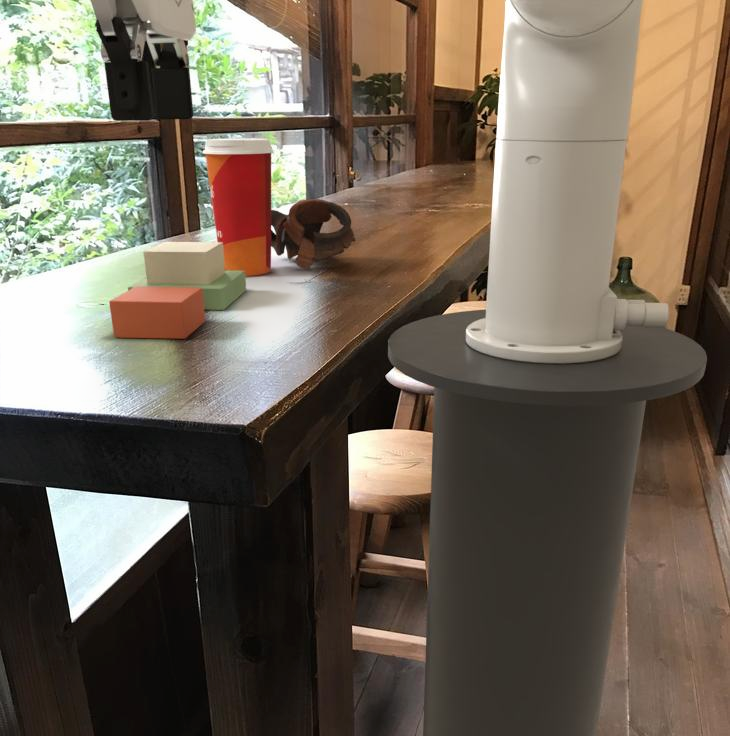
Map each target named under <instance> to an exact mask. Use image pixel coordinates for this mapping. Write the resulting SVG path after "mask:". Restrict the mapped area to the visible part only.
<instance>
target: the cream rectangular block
mask: <svg viewBox="0 0 730 736" xmlns="http://www.w3.org/2000/svg"><path fill="white" fill-rule="evenodd" d="M143 261H144V269H145V276H146V277H145V278H147V284H191V285H209V284H211V283H212V282H213V281H215V280H216V279H218V278H219V277H220V276H222V275H223V274H224V273H225V264H224V251H223V242H217V241H214V242H213V241H163V242H160V243H158V244H157V245H155V246H152V247H150V248H148V249H146V250H143Z"/></svg>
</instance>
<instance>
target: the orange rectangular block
mask: <svg viewBox="0 0 730 736" xmlns="http://www.w3.org/2000/svg"><path fill="white" fill-rule="evenodd" d="M108 303H109V309H110V317H111V324H112V332H113V337H114V338H117V339H118V338H119V339H166V340H167V339H170V340H185V339H187V338H188V337H189V336H190V335H192V334H193V332H195V331H196V330H197V329H198V328H200V326H202V325H203V324H204V323H205V322H206V314H205V313H206V312H205V310H204V302H203V291H202V288H201V287H137V286H136V287H134V288H132V289H130V290H128V289H127V291H125V292H123V293H121V294H120V295H118V296H116V297H114V298H113V299H111V300H109V301H108Z"/></svg>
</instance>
